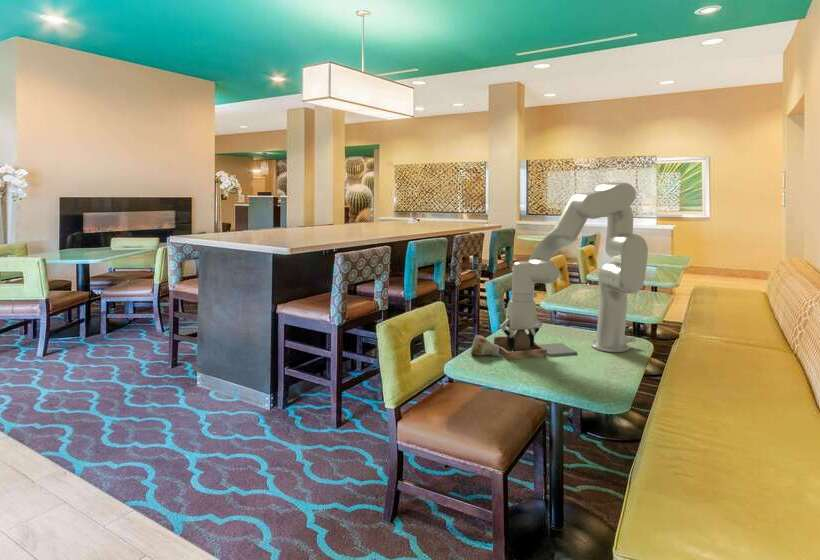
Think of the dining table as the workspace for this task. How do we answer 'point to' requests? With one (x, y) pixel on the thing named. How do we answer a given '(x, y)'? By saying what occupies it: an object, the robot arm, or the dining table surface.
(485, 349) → the mug
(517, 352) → the wooden frame
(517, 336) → the vase
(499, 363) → the dining table surface
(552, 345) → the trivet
